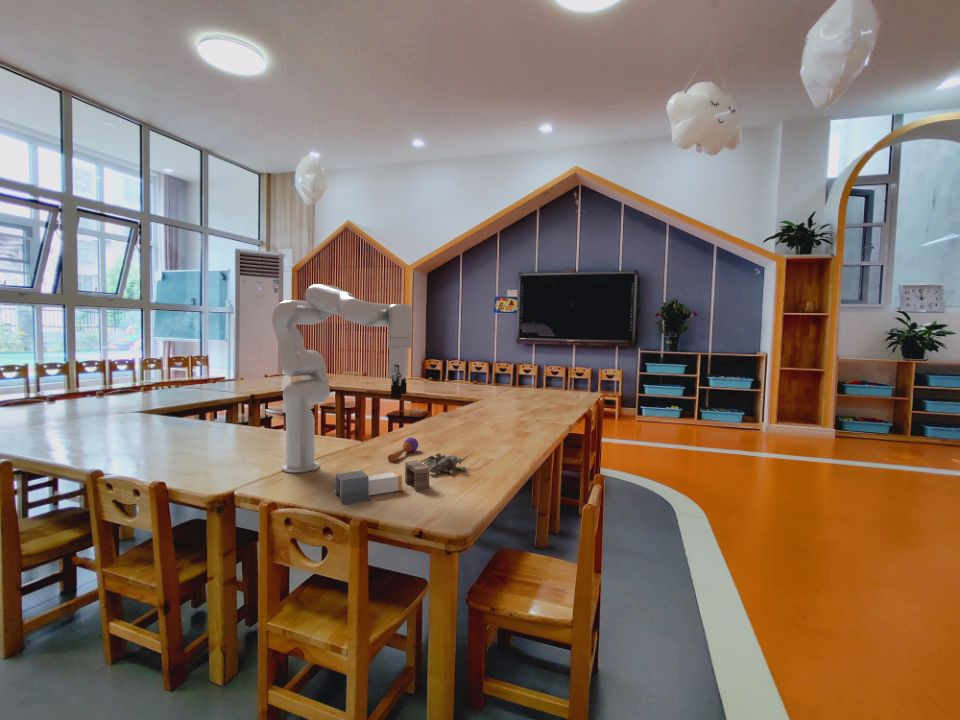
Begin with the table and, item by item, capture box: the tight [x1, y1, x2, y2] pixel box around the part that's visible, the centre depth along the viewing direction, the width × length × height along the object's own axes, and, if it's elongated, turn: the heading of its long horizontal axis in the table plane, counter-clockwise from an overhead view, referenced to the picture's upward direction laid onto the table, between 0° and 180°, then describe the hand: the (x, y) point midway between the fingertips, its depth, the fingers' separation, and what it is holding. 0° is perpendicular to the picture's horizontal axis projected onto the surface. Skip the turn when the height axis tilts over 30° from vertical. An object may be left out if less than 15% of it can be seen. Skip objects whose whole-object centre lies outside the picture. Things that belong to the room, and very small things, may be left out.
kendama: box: [387, 437, 419, 463], centre depth 190 cm, size 6×6×20 cm
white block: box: [340, 471, 403, 497], centre depth 146 cm, size 5×18×5 cm, turn 121°
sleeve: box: [333, 470, 372, 506], centre depth 143 cm, size 11×8×7 cm
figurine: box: [419, 452, 469, 476], centre depth 173 cm, size 20×6×17 cm
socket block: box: [404, 460, 430, 492], centre depth 154 cm, size 9×4×7 cm, turn 31°
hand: (398, 395), depth 153 cm, fingers open, 9 cm apart
